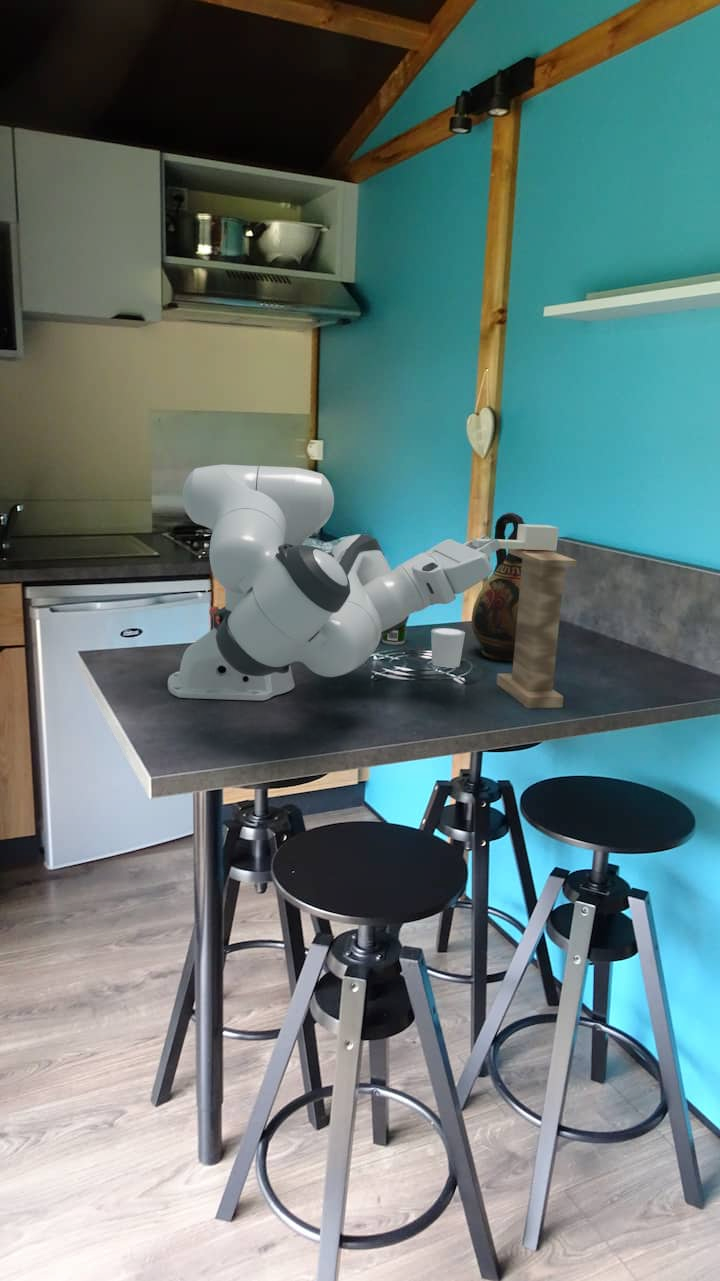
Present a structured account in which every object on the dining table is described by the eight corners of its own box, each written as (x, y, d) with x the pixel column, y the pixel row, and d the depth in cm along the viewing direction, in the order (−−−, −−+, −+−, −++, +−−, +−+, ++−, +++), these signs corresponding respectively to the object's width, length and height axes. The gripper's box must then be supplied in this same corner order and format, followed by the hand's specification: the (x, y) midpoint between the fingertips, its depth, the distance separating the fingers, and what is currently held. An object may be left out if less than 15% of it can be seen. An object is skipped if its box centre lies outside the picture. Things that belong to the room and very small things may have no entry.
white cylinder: (465, 669, 184) (468, 635, 182) (431, 668, 184) (433, 634, 182) (460, 661, 191) (462, 627, 189) (426, 659, 190) (429, 626, 189)
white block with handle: (479, 548, 161) (481, 525, 160) (471, 544, 165) (473, 522, 164) (556, 550, 164) (558, 527, 163) (546, 547, 168) (549, 525, 167)
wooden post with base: (527, 708, 161) (541, 559, 155) (496, 683, 175) (508, 546, 169) (562, 707, 162) (577, 559, 156) (528, 683, 177) (541, 546, 170)
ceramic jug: (557, 660, 195) (571, 517, 188) (503, 668, 186) (515, 519, 179) (502, 642, 208) (513, 508, 201) (449, 649, 200) (459, 510, 193)
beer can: (406, 645, 201) (409, 591, 198) (381, 644, 201) (384, 590, 198) (403, 639, 207) (407, 586, 204) (379, 639, 206) (382, 585, 203)
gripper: (416, 583, 173) (480, 547, 174) (451, 606, 154) (522, 565, 155) (402, 554, 171) (466, 518, 172) (435, 573, 152) (507, 532, 153)
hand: (493, 540), depth 163 cm, fingers open, 3 cm apart
